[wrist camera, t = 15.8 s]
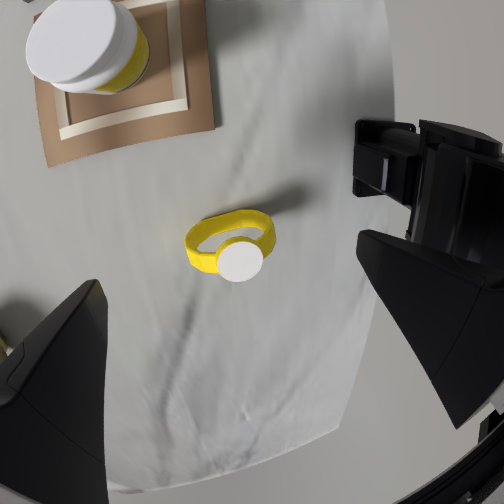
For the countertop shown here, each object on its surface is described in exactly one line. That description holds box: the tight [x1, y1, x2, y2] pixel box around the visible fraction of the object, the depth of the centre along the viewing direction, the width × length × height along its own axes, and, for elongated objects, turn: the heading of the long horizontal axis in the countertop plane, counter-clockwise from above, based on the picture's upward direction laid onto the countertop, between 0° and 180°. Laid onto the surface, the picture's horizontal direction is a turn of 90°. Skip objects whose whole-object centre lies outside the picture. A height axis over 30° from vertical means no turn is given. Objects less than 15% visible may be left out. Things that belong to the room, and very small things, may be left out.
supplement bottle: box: [26, 0, 150, 95], centre depth 10 cm, size 5×5×8 cm
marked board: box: [34, 0, 215, 168], centre depth 13 cm, size 12×12×1 cm
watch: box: [184, 209, 276, 282], centre depth 19 cm, size 6×3×6 cm, turn 101°
